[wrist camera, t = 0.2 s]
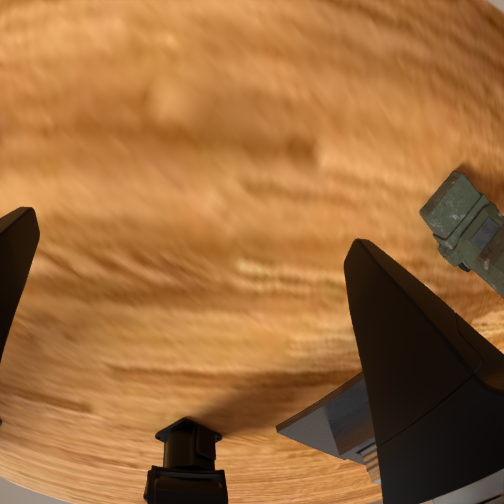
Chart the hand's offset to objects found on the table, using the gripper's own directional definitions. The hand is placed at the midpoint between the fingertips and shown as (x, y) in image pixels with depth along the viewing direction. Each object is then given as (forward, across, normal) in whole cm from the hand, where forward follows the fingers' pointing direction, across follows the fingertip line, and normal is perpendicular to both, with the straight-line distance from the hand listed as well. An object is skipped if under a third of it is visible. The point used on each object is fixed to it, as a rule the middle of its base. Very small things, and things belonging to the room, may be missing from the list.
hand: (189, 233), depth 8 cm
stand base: (+7, -24, +33) cm, 42 cm away
